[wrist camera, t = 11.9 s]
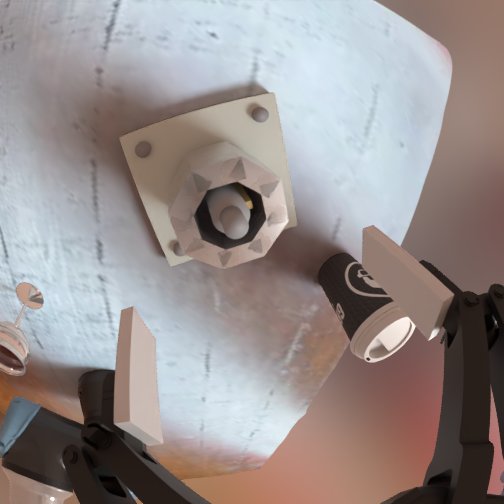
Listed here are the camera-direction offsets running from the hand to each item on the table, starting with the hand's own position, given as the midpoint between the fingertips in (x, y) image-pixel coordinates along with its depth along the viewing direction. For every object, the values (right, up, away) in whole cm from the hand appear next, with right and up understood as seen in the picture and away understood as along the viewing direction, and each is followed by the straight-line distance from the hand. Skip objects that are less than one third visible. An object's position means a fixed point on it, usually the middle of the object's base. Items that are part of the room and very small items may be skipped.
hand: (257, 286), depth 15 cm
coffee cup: (+13, -1, +27) cm, 30 cm away
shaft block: (-4, +10, +15) cm, 18 cm away
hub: (-4, +8, +13) cm, 15 cm away
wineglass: (-33, -5, +16) cm, 36 cm away
